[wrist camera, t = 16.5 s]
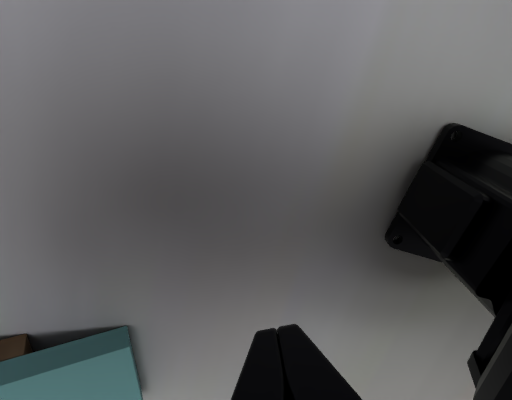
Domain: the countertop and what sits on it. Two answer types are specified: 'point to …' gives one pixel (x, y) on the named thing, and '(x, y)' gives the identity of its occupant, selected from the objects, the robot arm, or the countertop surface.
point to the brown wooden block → (14, 347)
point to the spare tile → (75, 371)
